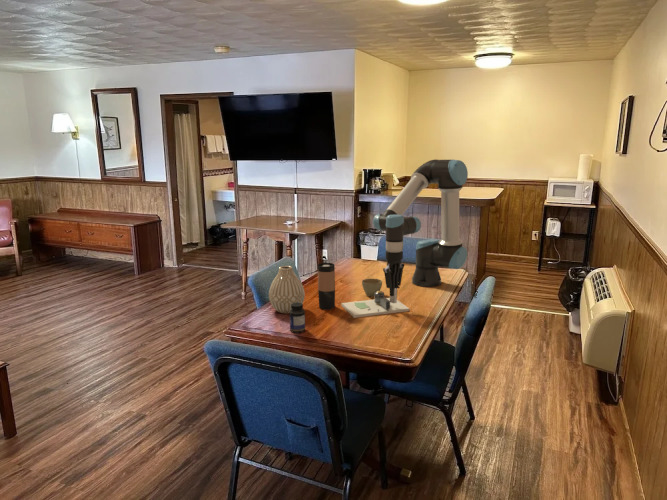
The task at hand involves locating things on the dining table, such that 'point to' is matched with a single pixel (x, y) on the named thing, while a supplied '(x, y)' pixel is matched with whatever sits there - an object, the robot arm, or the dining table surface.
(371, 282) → the flower pot
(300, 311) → the pill bottle
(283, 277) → the vase
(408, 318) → the dining table surface
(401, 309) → the board
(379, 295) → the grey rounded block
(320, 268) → the travel mug
